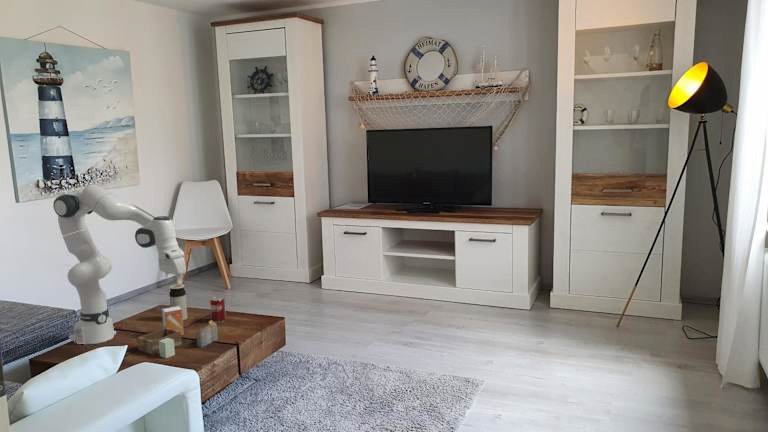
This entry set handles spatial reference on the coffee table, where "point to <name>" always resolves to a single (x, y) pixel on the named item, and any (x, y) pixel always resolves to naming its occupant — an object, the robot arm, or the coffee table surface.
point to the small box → (173, 318)
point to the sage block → (166, 347)
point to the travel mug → (178, 298)
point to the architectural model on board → (207, 334)
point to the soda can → (218, 309)
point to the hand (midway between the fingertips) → (175, 282)
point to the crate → (157, 340)
